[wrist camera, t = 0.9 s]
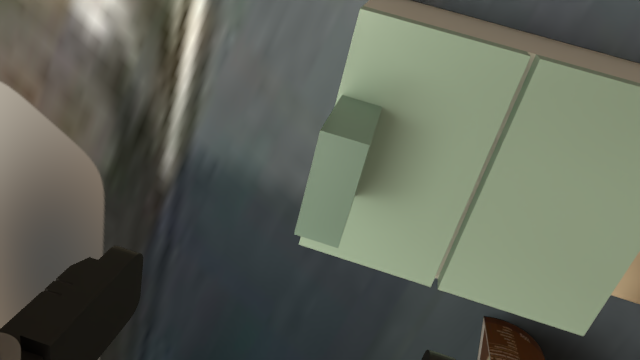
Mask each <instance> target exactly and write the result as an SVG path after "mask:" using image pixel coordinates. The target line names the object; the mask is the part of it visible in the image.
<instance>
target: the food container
mask: <svg viewBox="0 0 640 360" xmlns="http://www.w3.org/2000/svg"><path fill="white" fill-rule="evenodd" d="M477 360H545V358H544V355H543V352H542V350H541V348H540V347H539V345H538V343H537V342H536V341H535V340H534V339H533V338H532V337H531V336H530V335H529V334H528V333H526V332H525V331H524V330H522V329H520V328H519V327H517V326H515V325H513V324H511V323H509V322H506V321H503V320H500V319H496V318H491V317H485V316H484V318H483V325H482V332H481V338H480V345H479V352H478V359H477Z"/></svg>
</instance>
